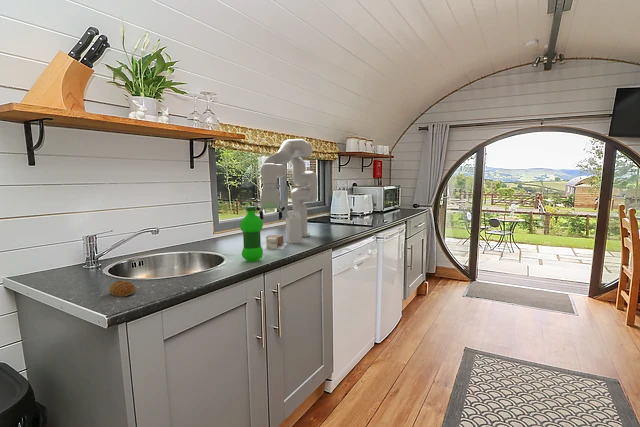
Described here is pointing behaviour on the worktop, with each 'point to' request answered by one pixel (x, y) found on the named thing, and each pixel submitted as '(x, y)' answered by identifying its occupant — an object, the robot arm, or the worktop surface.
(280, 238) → the walnut base block
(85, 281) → the worktop surface
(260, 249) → the plastic bottle
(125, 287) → the pastry
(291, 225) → the milk carton
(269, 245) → the cream cube
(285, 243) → the blueprint board
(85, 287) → the worktop surface
